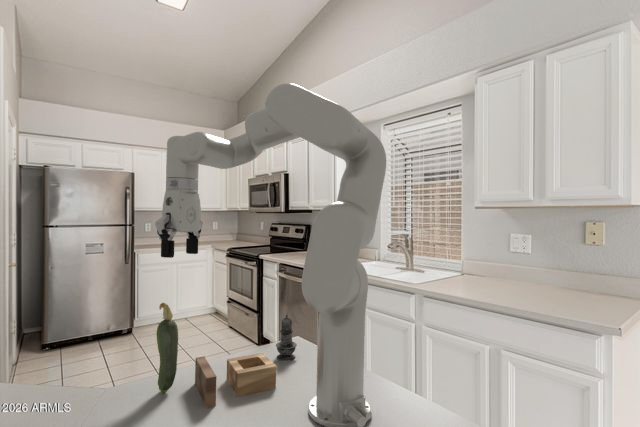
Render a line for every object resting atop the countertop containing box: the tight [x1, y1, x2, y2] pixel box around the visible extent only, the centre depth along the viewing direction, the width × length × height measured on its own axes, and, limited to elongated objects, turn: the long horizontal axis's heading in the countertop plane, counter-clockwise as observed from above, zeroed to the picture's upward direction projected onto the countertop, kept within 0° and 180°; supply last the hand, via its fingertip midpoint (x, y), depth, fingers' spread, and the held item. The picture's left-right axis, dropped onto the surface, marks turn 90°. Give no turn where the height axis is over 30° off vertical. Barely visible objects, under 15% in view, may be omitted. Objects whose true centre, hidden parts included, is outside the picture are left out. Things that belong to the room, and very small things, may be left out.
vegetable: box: [156, 302, 179, 394], centre depth 78 cm, size 4×4×20 cm
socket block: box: [226, 352, 277, 397], centre depth 83 cm, size 9×9×5 cm
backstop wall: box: [194, 356, 217, 408], centre depth 78 cm, size 12×2×6 cm, turn 29°
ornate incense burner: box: [275, 314, 298, 362], centre depth 100 cm, size 6×6×12 cm
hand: (180, 255), depth 88 cm, fingers open, 9 cm apart
